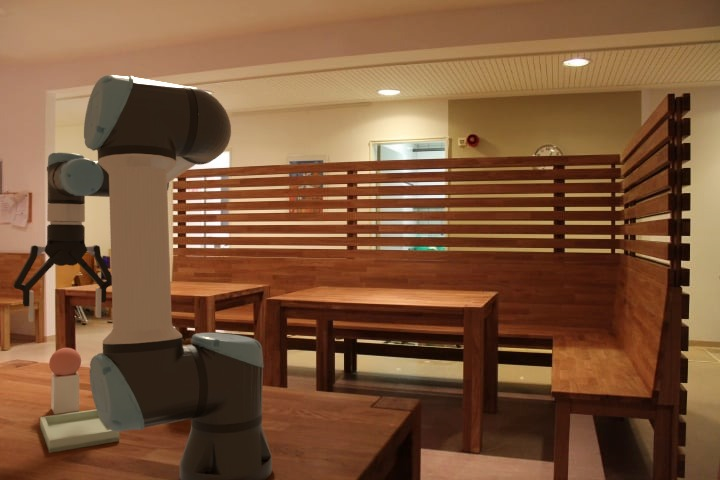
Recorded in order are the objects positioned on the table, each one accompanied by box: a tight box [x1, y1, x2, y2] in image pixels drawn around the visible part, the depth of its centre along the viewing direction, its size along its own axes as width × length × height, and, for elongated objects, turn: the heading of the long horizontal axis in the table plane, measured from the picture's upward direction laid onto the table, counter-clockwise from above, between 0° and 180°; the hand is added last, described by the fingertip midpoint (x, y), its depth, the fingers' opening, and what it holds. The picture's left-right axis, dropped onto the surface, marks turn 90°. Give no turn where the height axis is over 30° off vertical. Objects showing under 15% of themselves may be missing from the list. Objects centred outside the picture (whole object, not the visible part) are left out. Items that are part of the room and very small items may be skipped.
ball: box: [48, 347, 82, 376], centre depth 136 cm, size 6×6×6 cm
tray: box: [39, 408, 120, 453], centre depth 120 cm, size 16×12×2 cm
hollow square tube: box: [50, 371, 80, 415], centre depth 136 cm, size 5×5×8 cm
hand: (65, 319), depth 136 cm, fingers open, 13 cm apart
